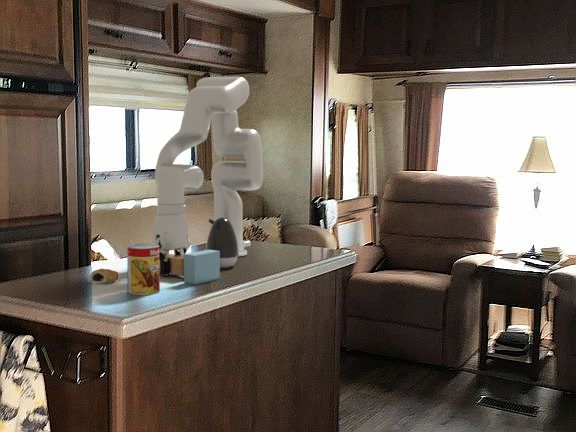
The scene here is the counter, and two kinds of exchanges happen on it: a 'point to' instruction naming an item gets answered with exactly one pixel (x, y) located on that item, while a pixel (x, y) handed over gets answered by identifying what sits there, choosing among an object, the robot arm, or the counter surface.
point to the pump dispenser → (223, 241)
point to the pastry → (103, 276)
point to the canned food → (143, 269)
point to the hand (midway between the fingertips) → (171, 272)
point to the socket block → (201, 267)
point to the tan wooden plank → (176, 264)
